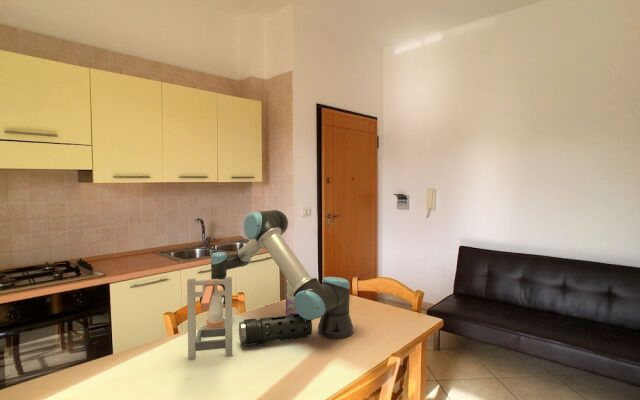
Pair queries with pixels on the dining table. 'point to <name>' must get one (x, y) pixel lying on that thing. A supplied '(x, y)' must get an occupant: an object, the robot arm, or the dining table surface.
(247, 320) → the muzzle brake
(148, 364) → the dining table surface
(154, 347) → the dining table surface
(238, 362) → the dining table surface
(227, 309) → the frame
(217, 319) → the pepper shaker
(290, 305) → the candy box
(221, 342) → the grey shallow square frame
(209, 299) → the bar
